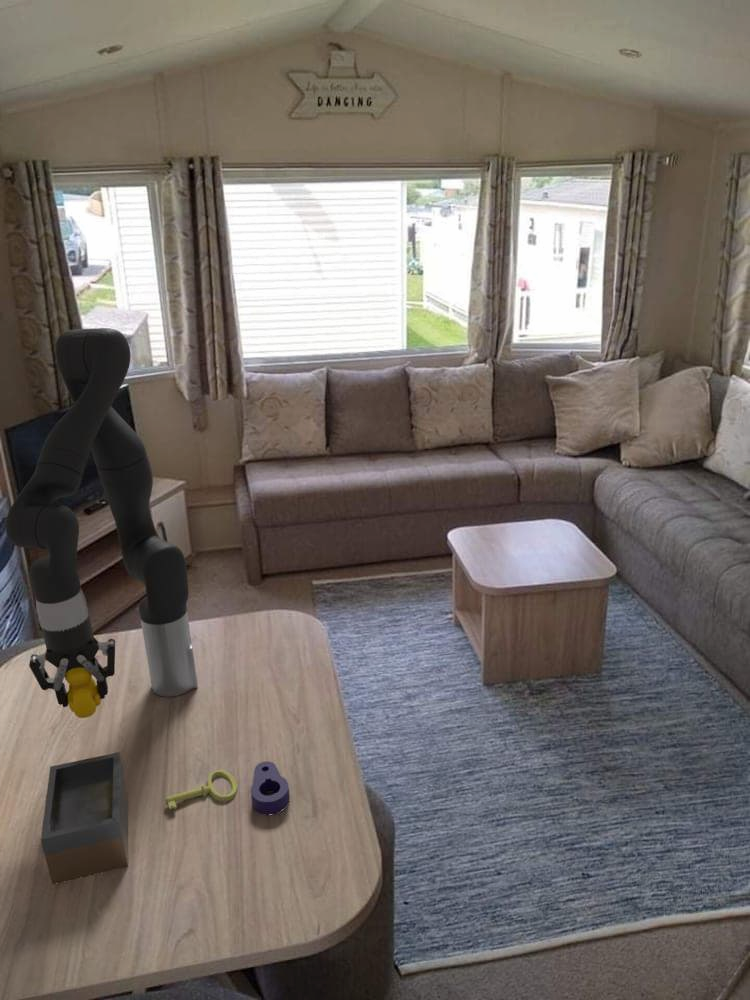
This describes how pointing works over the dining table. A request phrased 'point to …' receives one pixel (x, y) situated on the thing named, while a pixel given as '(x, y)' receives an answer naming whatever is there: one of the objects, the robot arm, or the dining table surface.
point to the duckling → (82, 692)
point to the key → (206, 790)
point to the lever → (269, 789)
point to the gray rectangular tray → (86, 818)
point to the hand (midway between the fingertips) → (84, 699)
